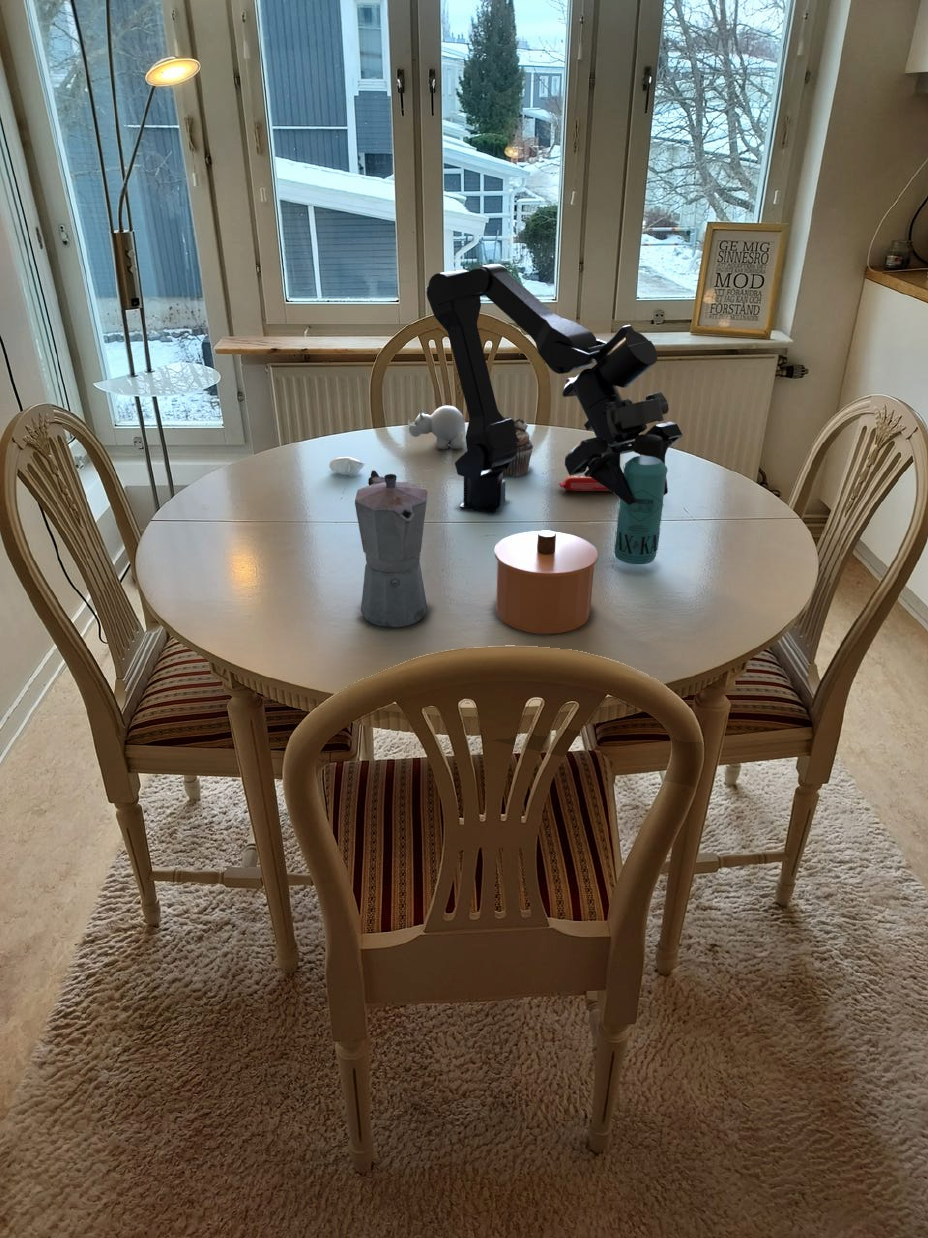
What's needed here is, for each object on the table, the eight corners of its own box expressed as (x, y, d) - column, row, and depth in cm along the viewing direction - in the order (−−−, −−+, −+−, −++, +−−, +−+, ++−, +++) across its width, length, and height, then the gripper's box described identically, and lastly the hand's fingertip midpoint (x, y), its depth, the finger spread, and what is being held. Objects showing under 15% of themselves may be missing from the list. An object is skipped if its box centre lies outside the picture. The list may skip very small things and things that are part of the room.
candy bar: (642, 487, 161) (644, 472, 159) (647, 494, 158) (648, 478, 156) (557, 488, 160) (558, 472, 159) (559, 494, 157) (560, 479, 156)
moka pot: (381, 645, 109) (374, 496, 100) (339, 595, 121) (329, 458, 112) (448, 628, 113) (448, 483, 103) (401, 582, 125) (396, 448, 115)
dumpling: (330, 481, 164) (325, 460, 163) (333, 477, 169) (328, 457, 168) (366, 474, 164) (361, 453, 162) (368, 470, 169) (364, 450, 167)
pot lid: (479, 571, 110) (480, 545, 108) (512, 532, 121) (513, 508, 120) (583, 588, 106) (585, 561, 104) (607, 546, 117) (609, 522, 115)
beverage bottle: (608, 556, 133) (619, 430, 124) (650, 555, 134) (665, 429, 124) (618, 575, 128) (631, 443, 118) (661, 573, 128) (678, 442, 118)
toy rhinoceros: (409, 440, 186) (408, 401, 182) (464, 441, 186) (464, 401, 182) (406, 451, 179) (405, 410, 175) (464, 451, 179) (464, 411, 175)
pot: (483, 623, 114) (484, 565, 110) (513, 584, 125) (515, 530, 120) (575, 641, 110) (580, 581, 106) (598, 599, 121) (603, 543, 117)
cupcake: (474, 472, 168) (474, 421, 163) (498, 459, 175) (500, 410, 170) (517, 481, 163) (519, 429, 159) (540, 467, 171) (543, 417, 166)
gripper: (583, 382, 116) (632, 484, 113) (681, 366, 125) (729, 460, 122) (544, 426, 125) (588, 521, 122) (637, 408, 134) (680, 496, 132)
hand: (648, 498), depth 124 cm, fingers closed on beverage bottle, 6 cm apart
